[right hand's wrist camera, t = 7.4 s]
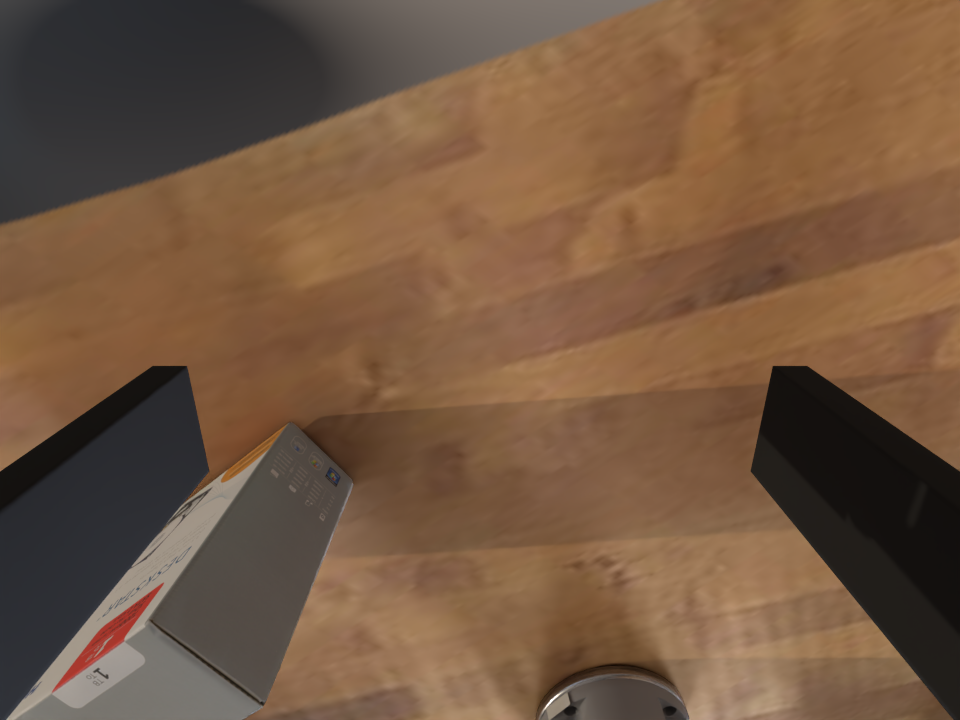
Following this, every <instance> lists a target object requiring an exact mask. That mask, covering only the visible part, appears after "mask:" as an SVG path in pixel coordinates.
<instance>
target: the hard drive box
mask: <svg viewBox="0 0 960 720" xmlns="http://www.w3.org/2000/svg"><path fill="white" fill-rule="evenodd" d="M352 487H353V483H352V479H351V478H350V477H349V476H348V475H347V474H346V473H345V472H344V471H343V470H342V469H341V468H340V467H338V466H337V464H336V463H335V462H333V461H332V460H331V459H330V458H329V457H328V456H327V455H326V454H325V453H324V452H323V451H322V450H321V449H320V448H319V447H318V446H317V445H316V444H315V443H314V442H313V441H312V440H311V439H310V438H309V437H308V436H307V435H306V434H304V433H303V432H302V431H301V430H300V429H299V428H298V427H297V426H296V425H295V424H294V423H293V422H290V423H288V424H286V425H285V426H284V427H282V428H281V429H280V430H278V431H277V432H276V433H275V434H273V435H272V436H271V437H269V438H268V439H267V440H265V441H264V442H263V443H261V444H260V445H259V446H258V447H256V448H255V449H254V450H252V451H251V452H250V453H249V454H247V455H246V456H245V457H244V458H242V459H241V460H240V461H238V462H237V463H236V464H234V465H233V466H232V467H231V468H229V469H228V470H227V471H225V472H224V473H223V474H221V475H220V476H219V477H218V478H216V479H215V480H214V481H212V482H211V483H210V484H208V485H207V486H206V487H204V488H203V489H202V490H200V491H199V492H198V493H197V494H195V495H194V496H193V497H192V498H190V499H189V500H188V501H186V502H185V503H184V504H183V505H181V507H180V508H179V509H178V510H177V511H176V513H175V514H174V515H173V516H172V518H171V519H170V520H169V521H168V522H167V524H166V525H165V526H164V527H163V529H162V530H161V531H160V532H159V533H158V535H157V536H156V537H155V538H154V540H153V541H152V542H151V543H150V544H149V546H148V547H147V548H146V549H145V551H144V552H143V553H142V554H141V555H140V557H139V558H138V559H137V560H136V562H135V563H134V564H133V565H132V567H131V568H130V569H129V570H128V571H127V573H126V574H125V575H124V576H123V578H122V579H121V580H120V581H119V582H118V584H117V585H116V586H115V587H114V589H113V590H112V591H111V592H110V593H109V595H108V596H107V597H106V598H105V600H104V601H103V602H102V603H101V604H100V606H99V607H98V608H97V609H96V611H95V612H94V613H93V614H92V615H91V617H90V618H89V619H88V620H87V622H86V623H85V624H84V625H83V626H82V628H81V629H80V630H79V631H78V633H77V634H76V635H75V636H74V638H73V639H72V640H71V641H70V642H69V644H68V645H67V646H66V647H65V649H64V650H63V651H62V652H61V653H60V655H59V656H58V657H57V658H56V660H55V661H54V662H53V663H52V664H51V666H50V667H49V668H48V669H47V671H46V672H45V673H44V674H43V675H42V677H41V678H40V679H39V680H38V682H37V683H36V684H35V685H34V686H33V688H32V689H31V690H30V691H29V693H28V694H27V695H26V696H25V697H24V699H23V700H22V701H21V702H20V704H19V705H18V706H17V707H16V709H15V710H14V711H13V712H12V713H11V715H10V716H9V717H8V718H7V720H244V719H245V718H247V717H248V716H250V715H251V714H253V713H255V712H256V711H258V710H259V709H261V708H262V707H263V706H264V704H265V702H266V700H267V698H268V695H269V693H270V690H271V688H272V685H273V683H274V681H275V678H276V676H277V673H278V671H279V669H280V666H281V663H282V661H283V658H284V656H285V653H286V651H287V648H288V646H289V643H290V641H291V638H292V636H293V633H294V631H295V628H296V626H297V623H298V621H299V618H300V616H301V613H302V611H303V608H304V606H305V603H306V601H307V598H308V596H309V593H310V591H311V589H312V586H313V584H314V581H315V579H316V576H317V574H318V571H319V569H320V566H321V564H322V561H323V559H324V557H325V554H326V552H327V549H328V547H329V544H330V542H331V539H332V537H333V534H334V532H335V529H336V527H337V524H338V522H339V520H340V517H341V515H342V512H343V510H344V507H345V505H346V502H347V500H348V497H349V495H350V492H351V490H352Z"/></svg>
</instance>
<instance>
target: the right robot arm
mask: <svg viewBox="0 0 960 720" xmlns="http://www.w3.org/2000/svg"><path fill="white" fill-rule="evenodd" d="M208 472H209V468H208V463H207V458H206V453H205V449H204V444H203V439H202V435H201V430H200V425H199V420H198V416H197V411H196V406H195V402H194V397H193V392H192V387H191V383H190V378H189V373H188V368H187V366H152V367H151V368H149V369H148V370H146V371H145V372H144V373H142V374H141V375H139V376H138V377H136V378H135V379H133V380H132V381H131V382H129V383H128V384H126V385H125V386H123V387H122V388H120V389H119V390H117V391H116V392H115V393H113V394H112V395H110V396H109V397H107V398H106V399H104V400H103V401H102V402H100V403H99V404H97V405H96V406H94V407H93V408H91V409H90V410H89V411H87V412H86V413H84V414H83V415H81V416H80V417H78V418H77V419H76V420H74V421H73V422H71V423H70V424H68V425H67V426H65V427H64V428H63V429H61V430H60V431H58V432H57V433H55V434H54V435H52V436H51V437H49V438H48V439H47V440H45V441H44V442H42V443H41V444H39V445H38V446H36V447H35V448H34V449H32V450H31V451H29V452H28V453H26V454H25V455H23V456H22V457H21V458H19V459H18V460H16V461H15V462H13V463H12V464H10V465H9V466H8V467H6V468H5V469H3V470H2V471H0V720H7V718H8V717H9V716H10V715H11V713H12V712H13V711H14V710H15V709H16V707H17V706H18V705H19V704H20V702H21V701H22V700H23V699H24V697H25V696H26V695H27V694H28V693H29V691H30V690H31V689H32V688H33V686H34V685H35V684H36V683H37V682H38V680H39V679H40V678H41V677H42V675H43V674H44V673H45V672H46V671H47V669H48V668H49V667H50V666H51V664H52V663H53V662H54V661H55V660H56V658H57V657H58V656H59V655H60V653H61V652H62V651H63V650H64V649H65V647H66V646H67V645H68V644H69V642H70V641H71V640H72V639H73V638H74V636H75V635H76V634H77V633H78V631H79V630H80V629H81V628H82V626H83V625H84V624H85V623H86V622H87V620H88V619H89V618H90V617H91V615H92V614H93V613H94V612H95V611H96V609H97V608H98V607H99V606H100V604H101V603H102V602H103V601H104V600H105V598H106V597H107V596H108V595H109V593H110V592H111V591H112V590H113V589H114V587H115V586H116V585H117V584H118V582H119V581H120V580H121V579H122V578H123V576H124V575H125V574H126V573H127V571H128V570H129V569H130V568H131V567H132V565H133V564H134V563H135V562H136V560H137V559H138V558H139V557H140V555H141V554H142V553H143V552H144V551H145V549H146V548H147V547H148V546H149V544H150V543H151V542H152V541H153V540H154V538H155V537H156V536H157V535H158V533H159V532H160V531H161V530H162V529H163V527H164V526H165V525H166V524H167V522H168V521H169V520H170V519H171V518H172V516H173V515H174V514H175V513H176V511H177V510H178V509H179V508H180V507H181V505H182V504H183V503H184V502H185V500H186V499H187V498H188V497H189V495H190V494H191V493H192V492H193V491H194V489H195V488H196V487H197V486H198V484H199V483H200V482H201V481H202V480H203V478H204V477H205V476H206V475H207V473H208ZM751 472H752V473H753V475H754V476H755V477H756V478H757V480H758V481H759V482H760V483H761V484H762V486H763V487H764V488H765V489H766V491H767V492H768V493H769V494H770V496H771V497H772V498H773V499H774V500H775V502H776V503H777V504H778V505H779V507H780V508H781V509H782V510H783V511H784V513H785V514H786V515H787V516H788V518H789V519H790V520H791V521H792V522H793V524H794V525H795V526H796V527H797V529H798V530H799V531H800V532H801V533H802V535H803V536H804V537H805V538H806V540H807V541H808V542H809V543H810V544H811V546H812V547H813V548H814V549H815V551H816V552H817V553H818V554H819V555H820V557H821V558H822V559H823V560H824V562H825V563H826V564H827V565H828V567H829V568H830V569H831V570H832V571H833V573H834V574H835V575H836V576H837V578H838V579H839V580H840V581H841V582H842V584H843V585H844V586H845V587H846V589H847V590H848V591H849V592H850V593H851V595H852V596H853V597H854V598H855V600H856V601H857V602H858V603H859V604H860V606H861V607H862V608H863V609H864V611H865V612H866V613H867V614H868V615H869V617H870V618H871V619H872V620H873V622H874V623H875V624H876V625H877V626H878V628H879V629H880V630H881V631H882V633H883V634H884V635H885V636H886V638H887V639H888V640H889V641H890V642H891V644H892V645H893V646H894V647H895V649H896V650H897V651H898V652H899V653H900V655H901V656H902V657H903V658H904V660H905V661H906V662H907V663H908V664H909V666H910V667H911V668H912V669H913V671H914V672H915V673H916V674H917V675H918V677H919V678H920V679H921V680H922V682H923V683H924V684H925V685H926V686H927V688H928V689H929V690H930V691H931V693H932V694H933V695H934V696H935V697H936V699H937V700H938V701H939V702H940V704H941V705H942V706H943V707H944V709H945V710H946V711H947V712H948V713H949V715H950V716H951V717H952V718H953V720H960V471H958V470H957V469H955V468H954V467H952V466H951V465H950V464H948V463H947V462H945V461H944V460H942V459H941V458H939V457H938V456H937V455H935V454H934V453H932V452H931V451H929V450H928V449H926V448H925V447H924V446H922V445H921V444H919V443H918V442H916V441H915V440H913V439H912V438H910V437H909V436H908V435H906V434H905V433H903V432H902V431H900V430H899V429H897V428H896V427H895V426H893V425H892V424H890V423H889V422H887V421H886V420H884V419H883V418H882V417H880V416H879V415H877V414H876V413H874V412H873V411H871V410H870V409H869V408H867V407H866V406H864V405H863V404H861V403H860V402H858V401H857V400H856V399H854V398H853V397H851V396H850V395H848V394H847V393H845V392H844V391H843V390H841V389H840V388H838V387H837V386H835V385H834V384H832V383H831V382H829V381H828V380H827V379H825V378H824V377H822V376H821V375H819V374H818V373H816V372H815V371H814V370H812V369H811V368H809V367H808V366H773V368H772V373H771V378H770V383H769V387H768V392H767V397H766V401H765V406H764V411H763V416H762V420H761V425H760V430H759V435H758V439H757V444H756V449H755V453H754V458H753V463H752V468H751ZM536 720H689V716H688V713H687V710H686V707H685V704H684V701H683V699H682V697H681V695H680V693H679V692H678V690H677V689H676V688H675V687H674V686H673V685H672V684H671V683H670V682H669V681H667V680H666V679H665V678H663V677H661V676H660V675H658V674H655V673H653V672H651V671H648V670H645V669H641V668H636V667H630V666H604V667H597V668H592V669H588V670H585V671H582V672H579V673H577V674H574V675H572V676H570V677H568V678H566V679H564V680H563V681H561V682H560V683H558V684H557V685H556V686H554V687H553V688H552V689H551V690H550V691H549V692H548V693H547V694H546V696H545V697H544V698H543V700H542V702H541V703H540V705H539V708H538V710H537V714H536Z"/></svg>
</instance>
